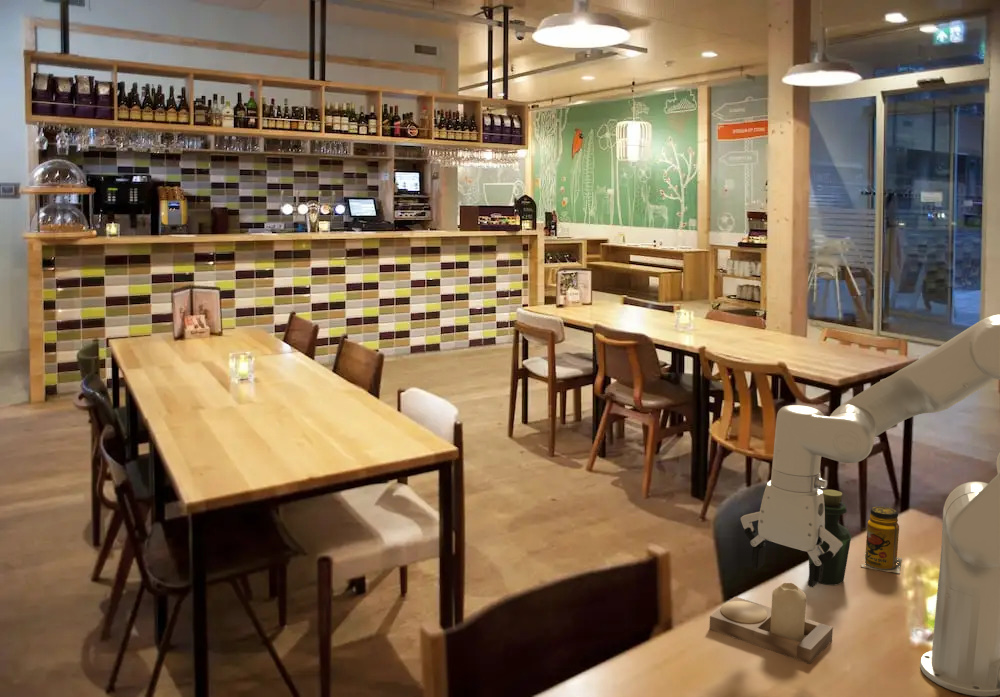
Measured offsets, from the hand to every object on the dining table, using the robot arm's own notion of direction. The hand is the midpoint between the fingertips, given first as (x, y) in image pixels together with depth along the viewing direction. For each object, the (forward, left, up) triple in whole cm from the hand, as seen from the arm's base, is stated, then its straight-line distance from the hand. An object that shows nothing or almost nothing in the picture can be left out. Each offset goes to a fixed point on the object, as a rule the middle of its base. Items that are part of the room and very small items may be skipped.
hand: (785, 575), depth 147 cm
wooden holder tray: (+2, 0, -12) cm, 12 cm away
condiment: (-3, -45, -12) cm, 46 cm away
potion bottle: (+3, -30, -12) cm, 32 cm away
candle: (-1, 0, -12) cm, 12 cm away
